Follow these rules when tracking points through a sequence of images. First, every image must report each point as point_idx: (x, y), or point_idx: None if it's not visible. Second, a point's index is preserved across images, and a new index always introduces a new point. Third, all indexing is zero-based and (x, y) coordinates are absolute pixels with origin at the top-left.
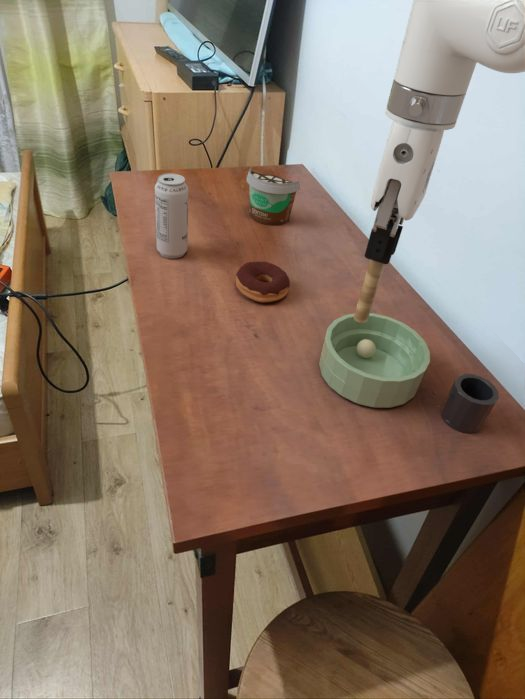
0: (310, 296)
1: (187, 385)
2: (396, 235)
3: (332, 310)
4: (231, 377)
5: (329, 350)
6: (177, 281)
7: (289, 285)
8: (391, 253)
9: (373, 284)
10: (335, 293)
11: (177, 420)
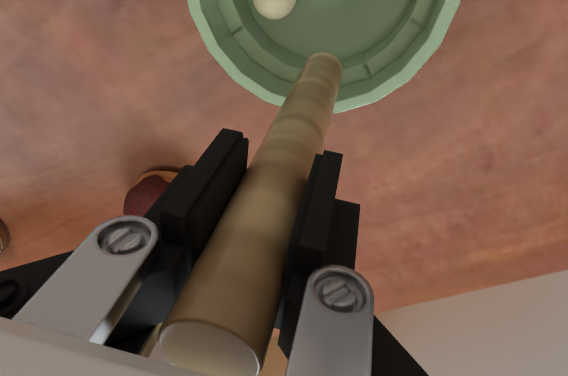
0: (143, 127)
1: (453, 259)
2: (307, 252)
3: (158, 80)
4: (419, 211)
5: (380, 98)
6: None
7: (156, 176)
8: (335, 183)
9: (324, 121)
10: (102, 82)
11: (533, 258)
